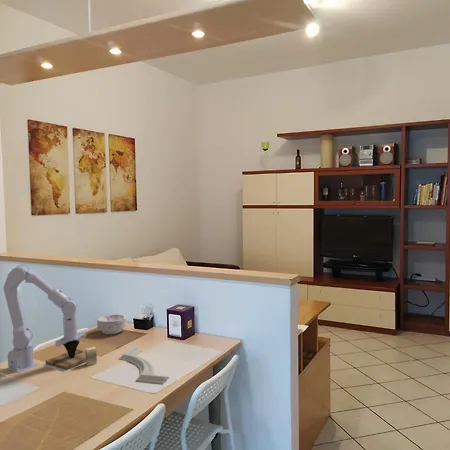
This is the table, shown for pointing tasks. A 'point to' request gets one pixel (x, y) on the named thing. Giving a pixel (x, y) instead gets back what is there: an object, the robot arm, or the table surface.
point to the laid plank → (60, 358)
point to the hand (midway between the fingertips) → (71, 357)
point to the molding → (143, 367)
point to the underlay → (64, 369)
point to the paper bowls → (111, 323)
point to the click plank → (72, 361)
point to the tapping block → (91, 356)
